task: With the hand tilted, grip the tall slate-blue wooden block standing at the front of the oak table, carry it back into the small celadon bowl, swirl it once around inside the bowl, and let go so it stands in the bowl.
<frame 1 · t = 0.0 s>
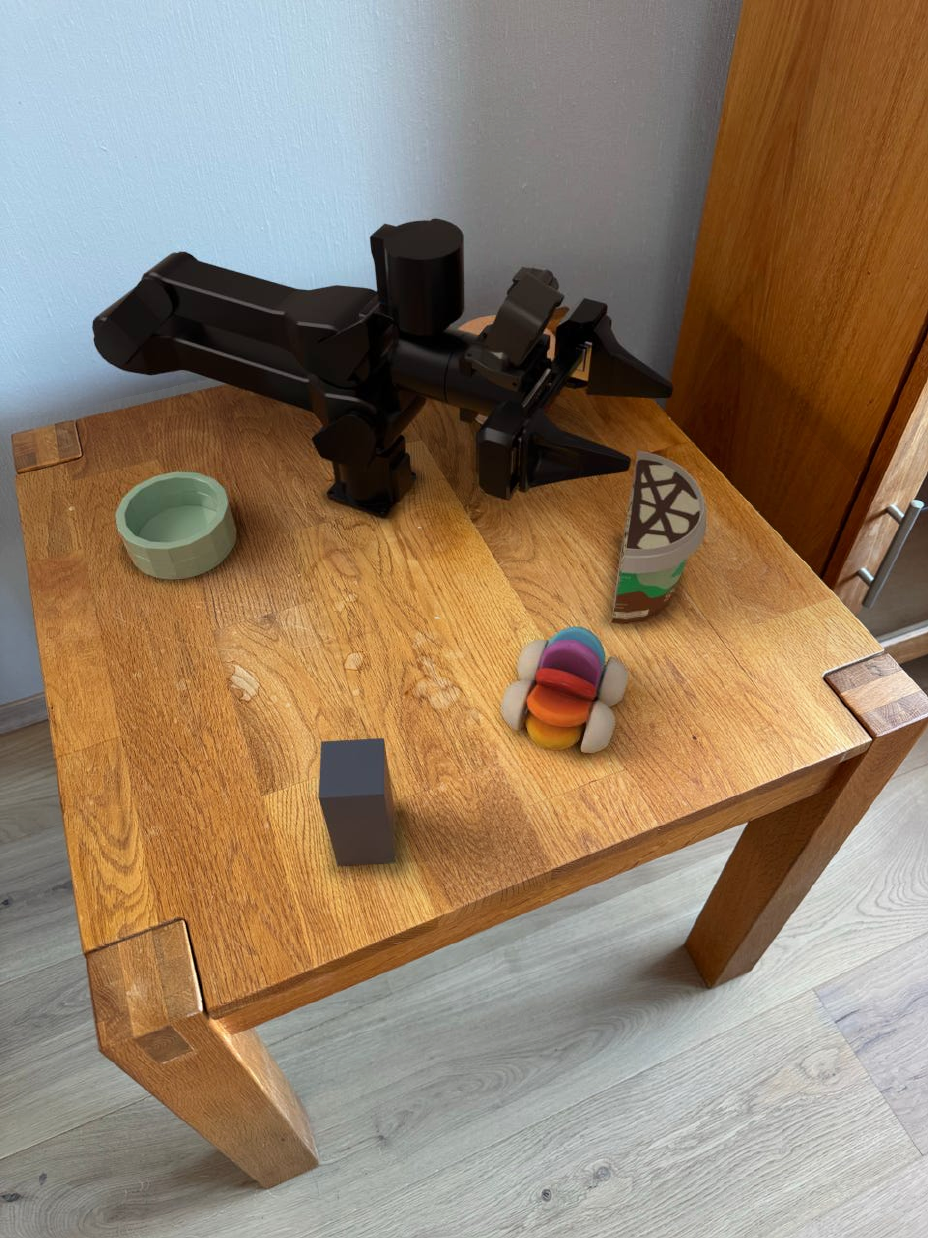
hand: (651, 426, 67), 17 cm above the table, tool horizontal, fingers open, 9 cm apart
food container: (651, 588, 79), on the table
trinket box: (501, 411, 94), on the table
rainbow wheeled toy: (563, 710, 71), on the table
block: (366, 837, 65), on the table
bowl: (183, 540, 83), on the table
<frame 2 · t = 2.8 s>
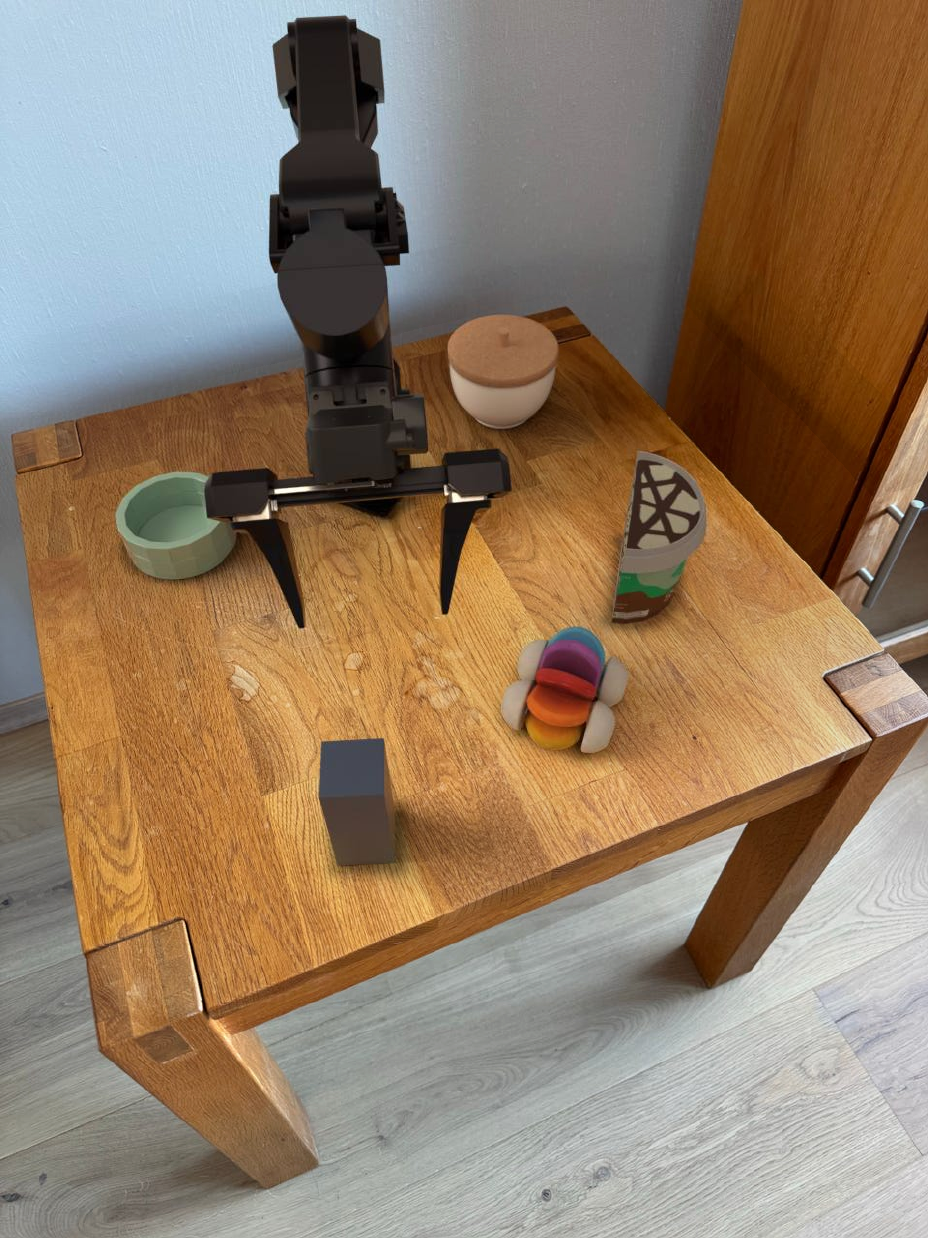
hand: (373, 621, 59), 14 cm above the table, tool tilted 50°, fingers open, 9 cm apart
nothing on the table moved.
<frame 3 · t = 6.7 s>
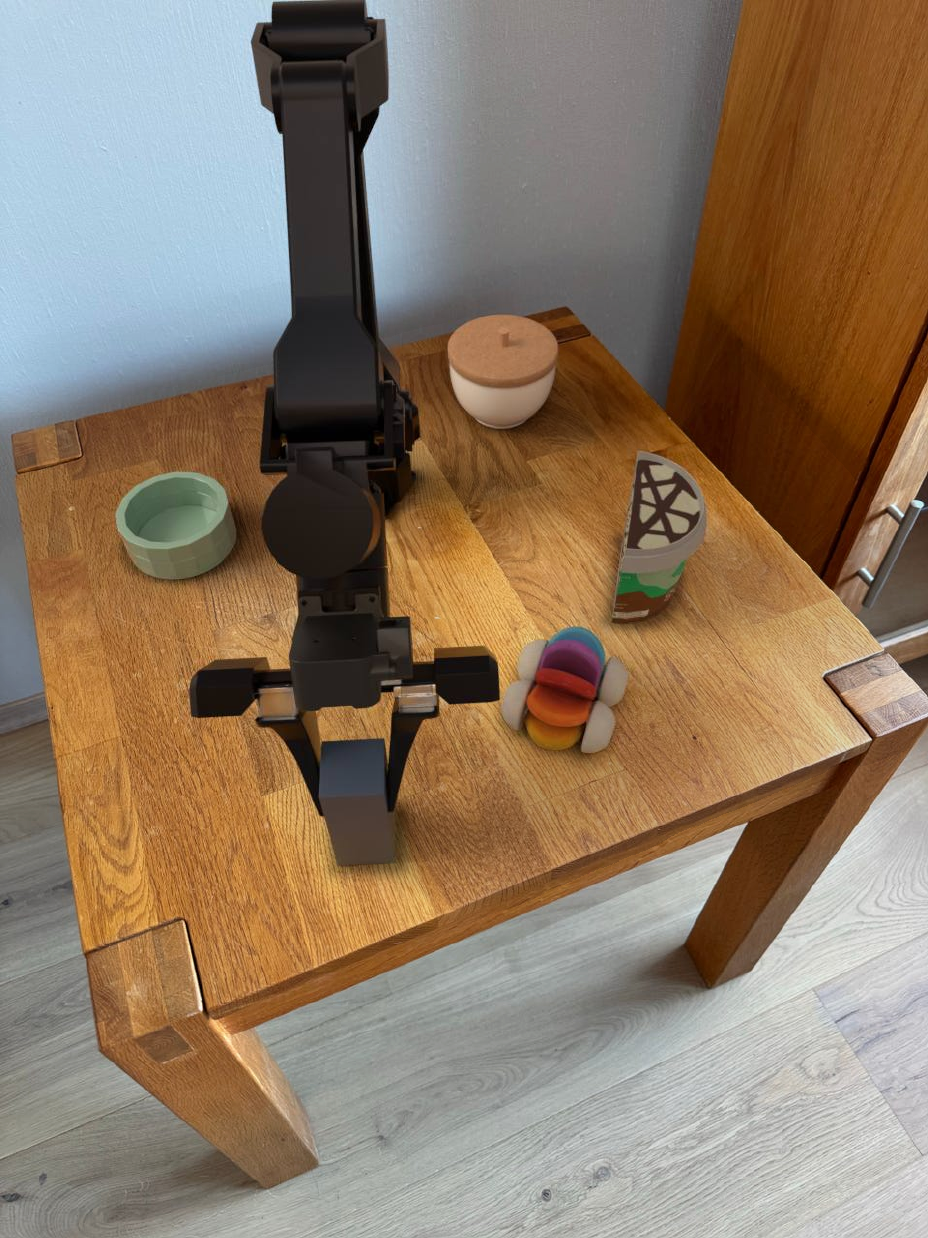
hand: (357, 812, 59), 7 cm above the table, tool tilted 45°, fingers closed on block, 4 cm apart
block: (367, 837, 65), on the table, touching gripper
everything else where it was.
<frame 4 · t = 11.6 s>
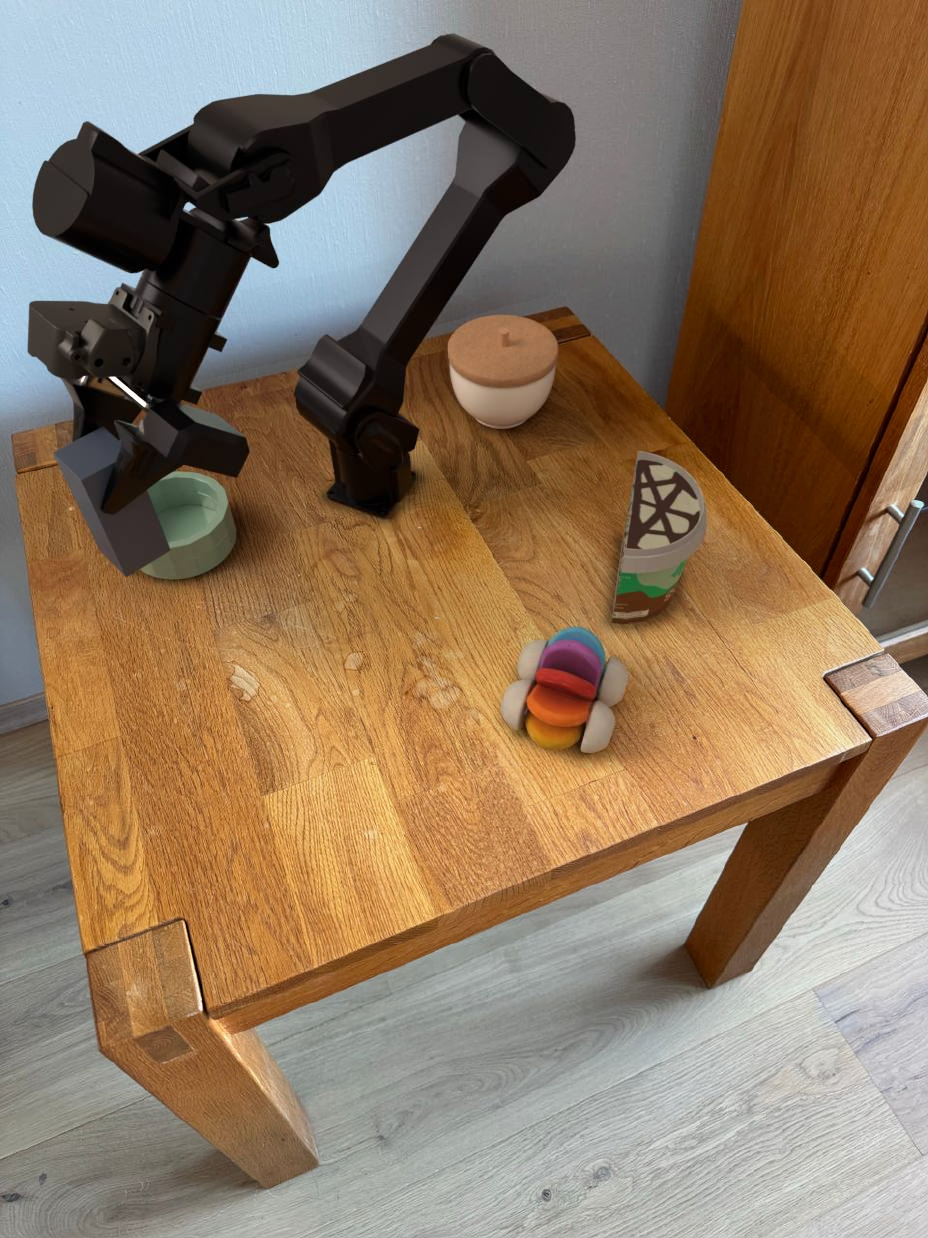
hand: (91, 497, 66), 15 cm above the table, tool tilted 45°, fingers closed on block, 4 cm apart
block: (135, 550, 71), point 8 cm above the table, touching gripper
everything else where it was.
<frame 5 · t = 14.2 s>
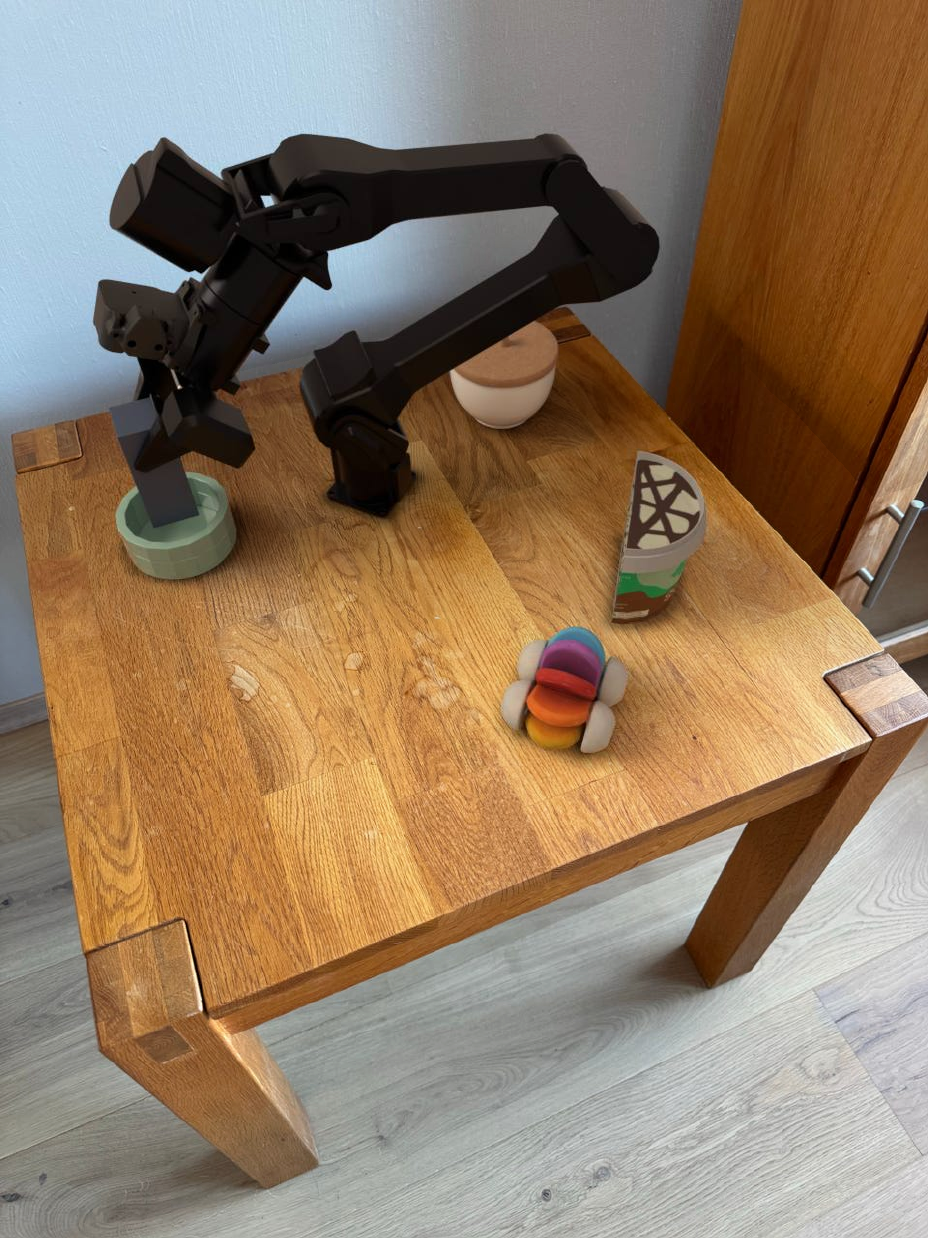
hand: (134, 453, 74), 11 cm above the table, tool tilted 45°, fingers closed on block, 4 cm apart
block: (172, 507, 80), point 4 cm above the table, touching gripper
everything else where it was.
when the fingers open (7 cm above the table, at t = 16.8 s): block stays where it is, resting on bowl.
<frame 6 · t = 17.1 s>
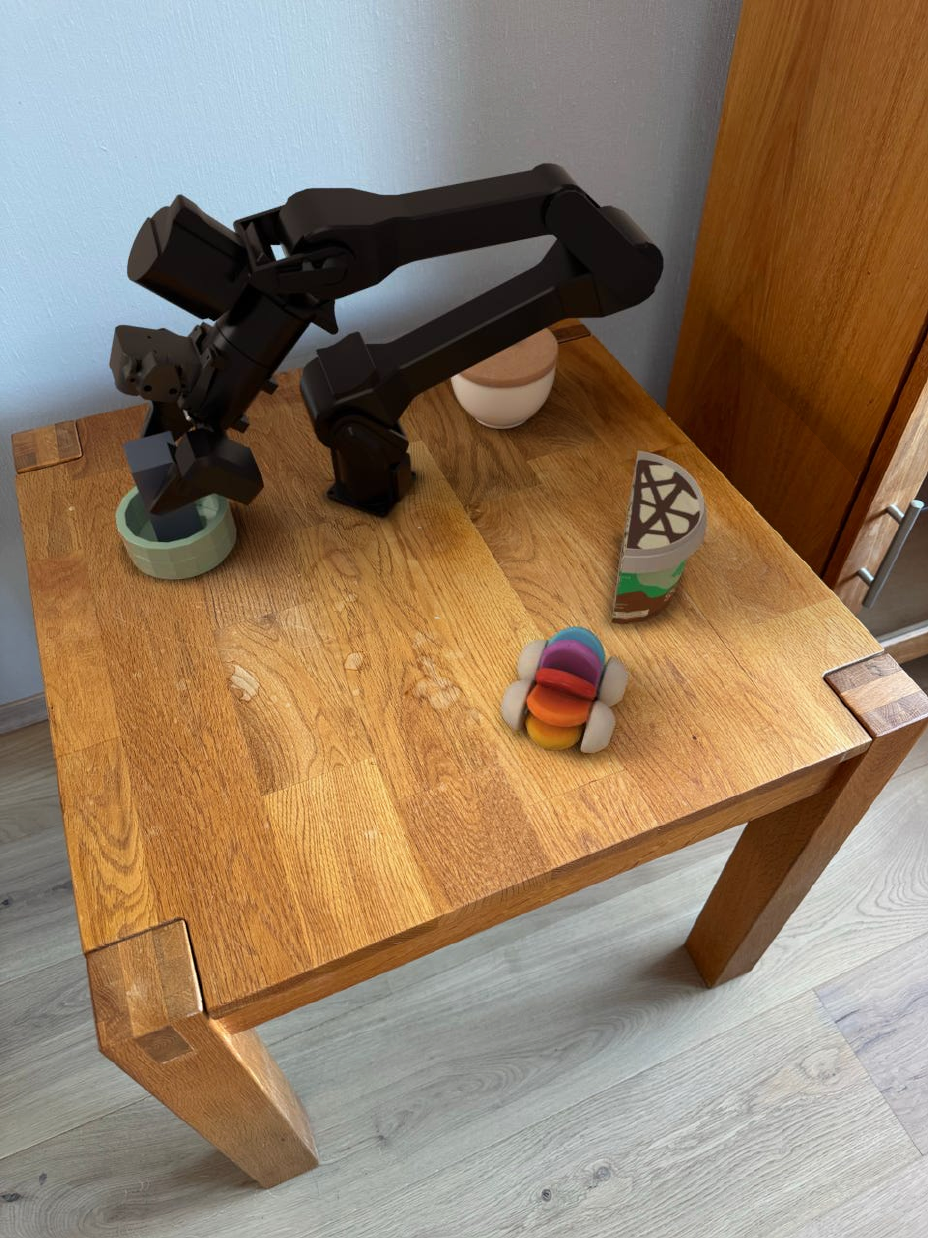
hand: (146, 487, 77), 7 cm above the table, tool tilted 45°, fingers open, 6 cm apart
block: (182, 536, 83), point 1 cm above the table, touching bowl
everything else where it was.
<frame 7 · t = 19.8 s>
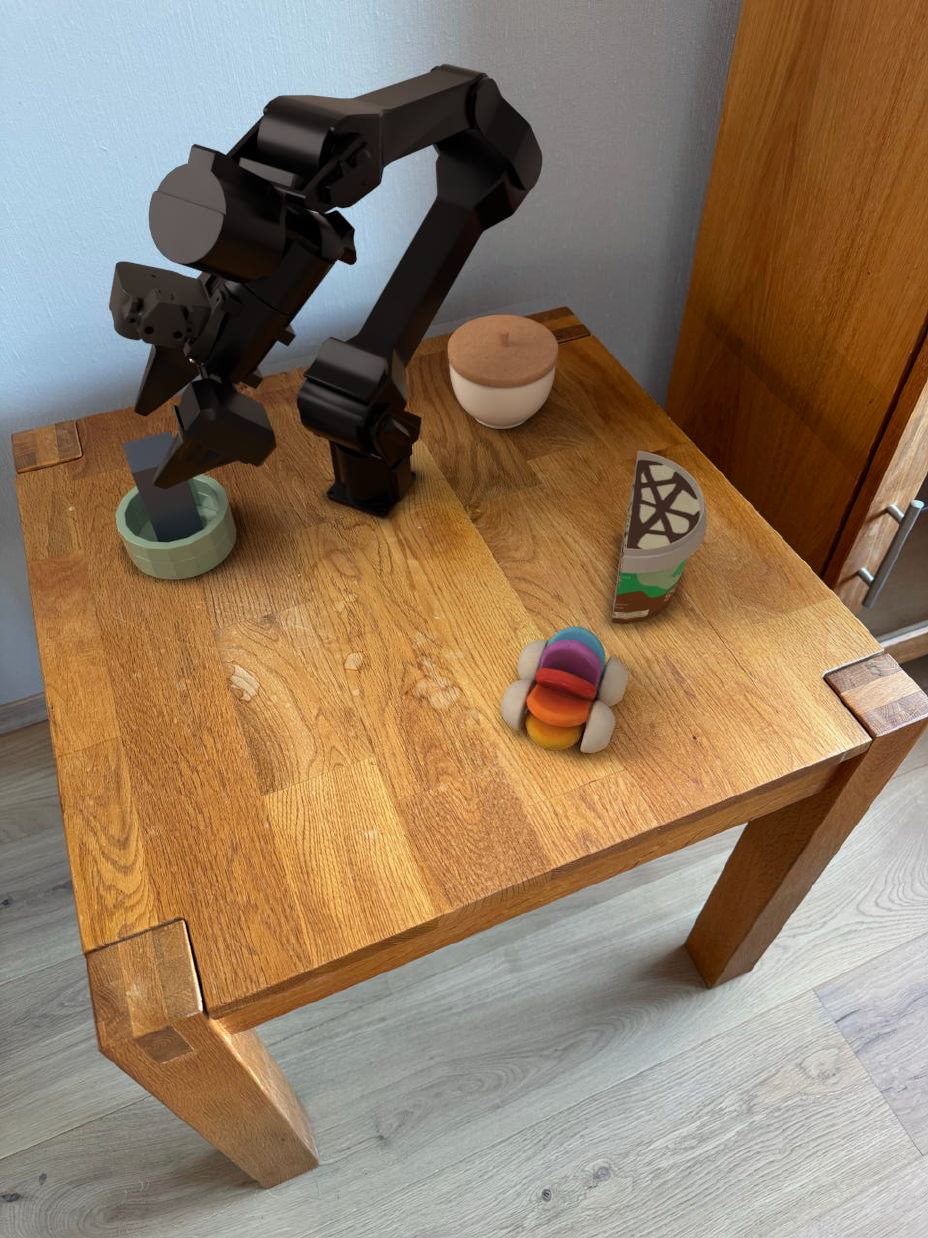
hand: (148, 448, 70), 14 cm above the table, tool tilted 45°, fingers open, 9 cm apart
nothing on the table moved.
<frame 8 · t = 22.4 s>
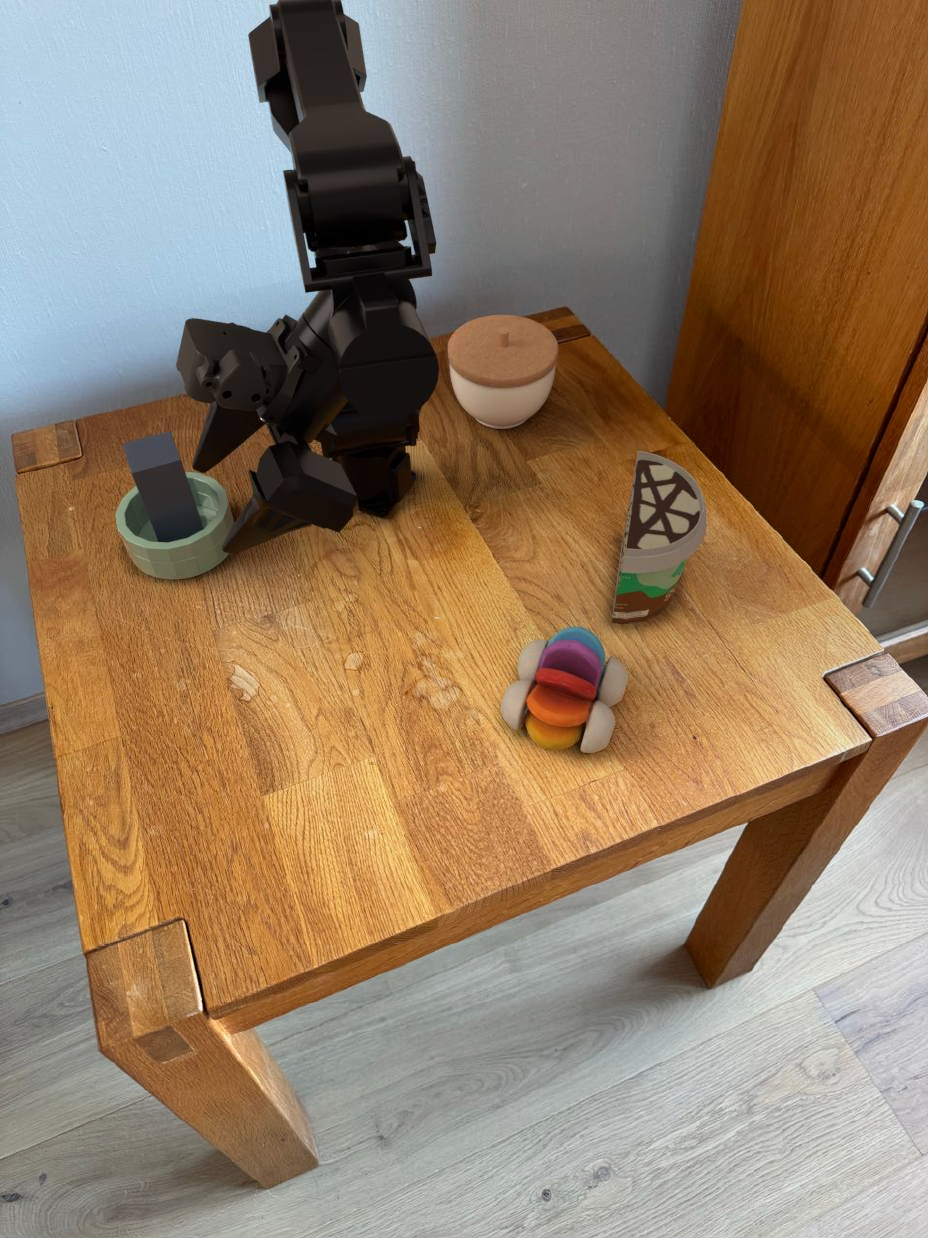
hand: (212, 509, 66), 14 cm above the table, tool tilted 45°, fingers open, 9 cm apart
nothing on the table moved.
at the end: block 0.0 cm off-centre in the bowl, point 0.5 cm above the bowl's base; block tilted 0°; the gripper is holding nothing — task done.
